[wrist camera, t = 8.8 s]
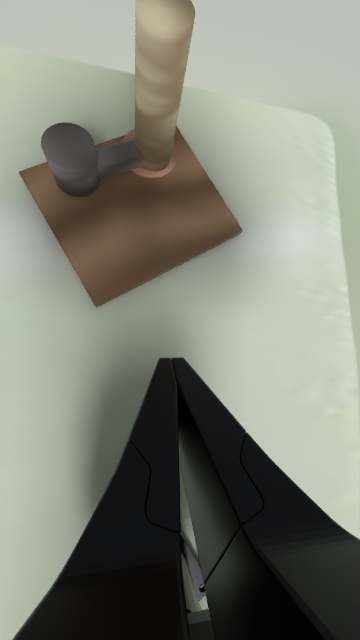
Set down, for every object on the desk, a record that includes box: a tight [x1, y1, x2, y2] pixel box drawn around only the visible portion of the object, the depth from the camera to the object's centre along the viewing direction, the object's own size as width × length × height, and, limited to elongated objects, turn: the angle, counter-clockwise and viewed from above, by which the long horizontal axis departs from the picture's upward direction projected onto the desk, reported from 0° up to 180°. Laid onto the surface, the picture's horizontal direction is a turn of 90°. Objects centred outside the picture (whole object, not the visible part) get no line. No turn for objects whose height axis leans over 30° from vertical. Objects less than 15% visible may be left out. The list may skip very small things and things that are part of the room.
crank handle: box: [41, 0, 195, 197], centre depth 18 cm, size 10×4×10 cm, turn 116°
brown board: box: [19, 126, 242, 307], centre depth 23 cm, size 13×15×1 cm
